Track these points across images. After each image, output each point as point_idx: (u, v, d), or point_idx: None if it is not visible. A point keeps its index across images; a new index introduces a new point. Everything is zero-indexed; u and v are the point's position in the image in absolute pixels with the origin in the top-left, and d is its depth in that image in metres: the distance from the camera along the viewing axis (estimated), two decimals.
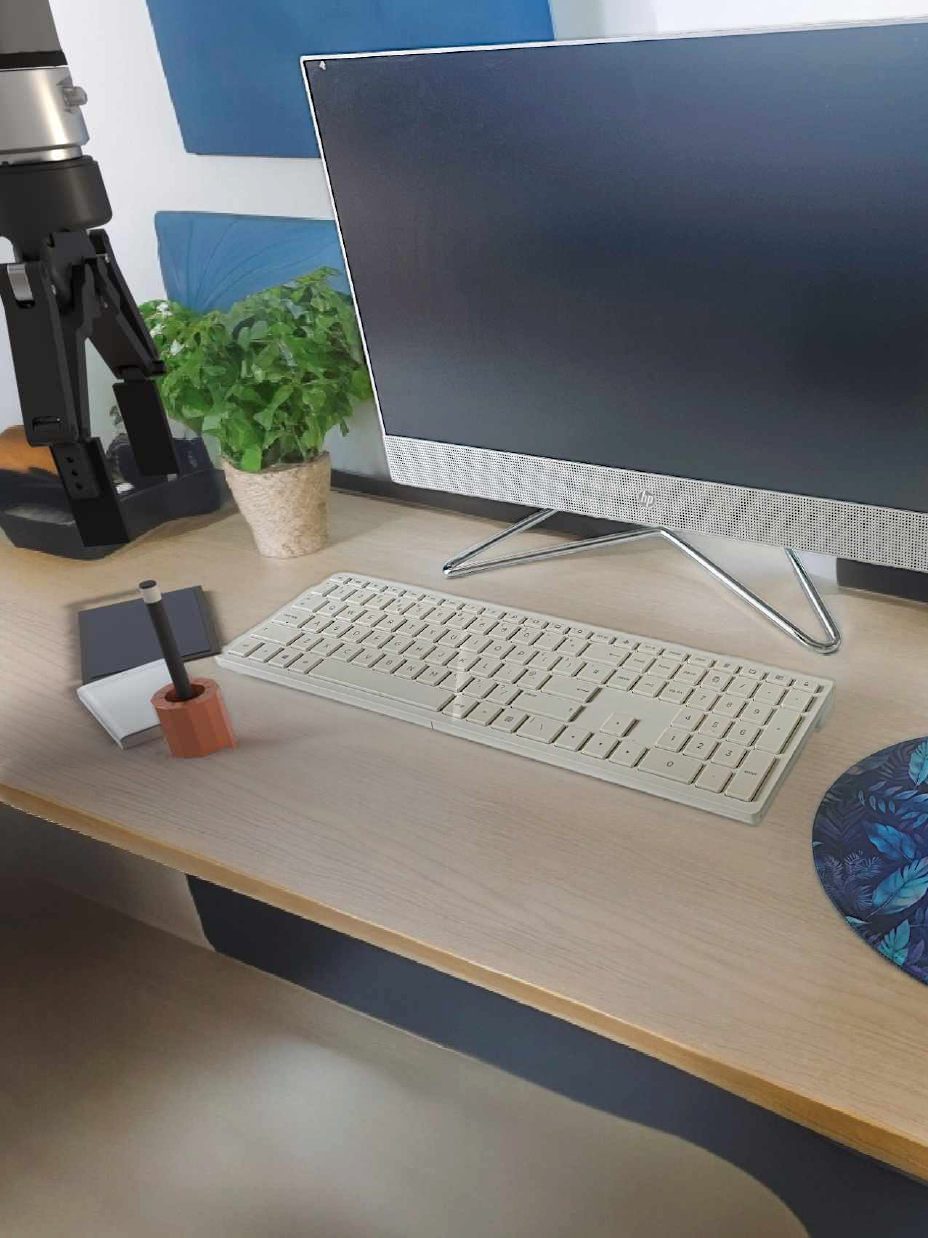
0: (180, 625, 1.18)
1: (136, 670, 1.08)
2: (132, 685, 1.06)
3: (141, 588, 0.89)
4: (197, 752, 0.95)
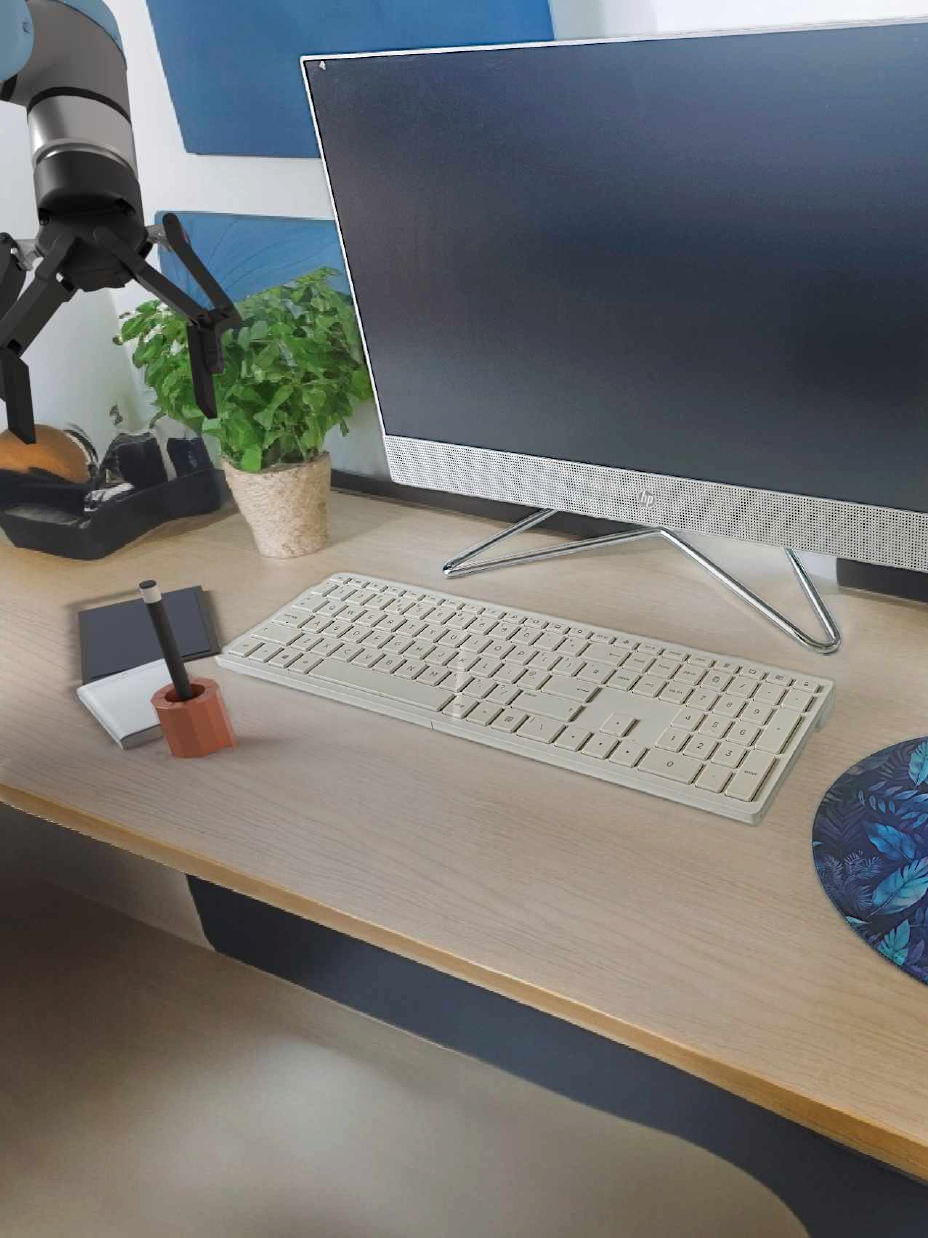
0: (180, 625, 1.18)
1: (136, 670, 1.08)
2: (132, 685, 1.06)
3: (141, 588, 0.89)
4: (197, 752, 0.95)
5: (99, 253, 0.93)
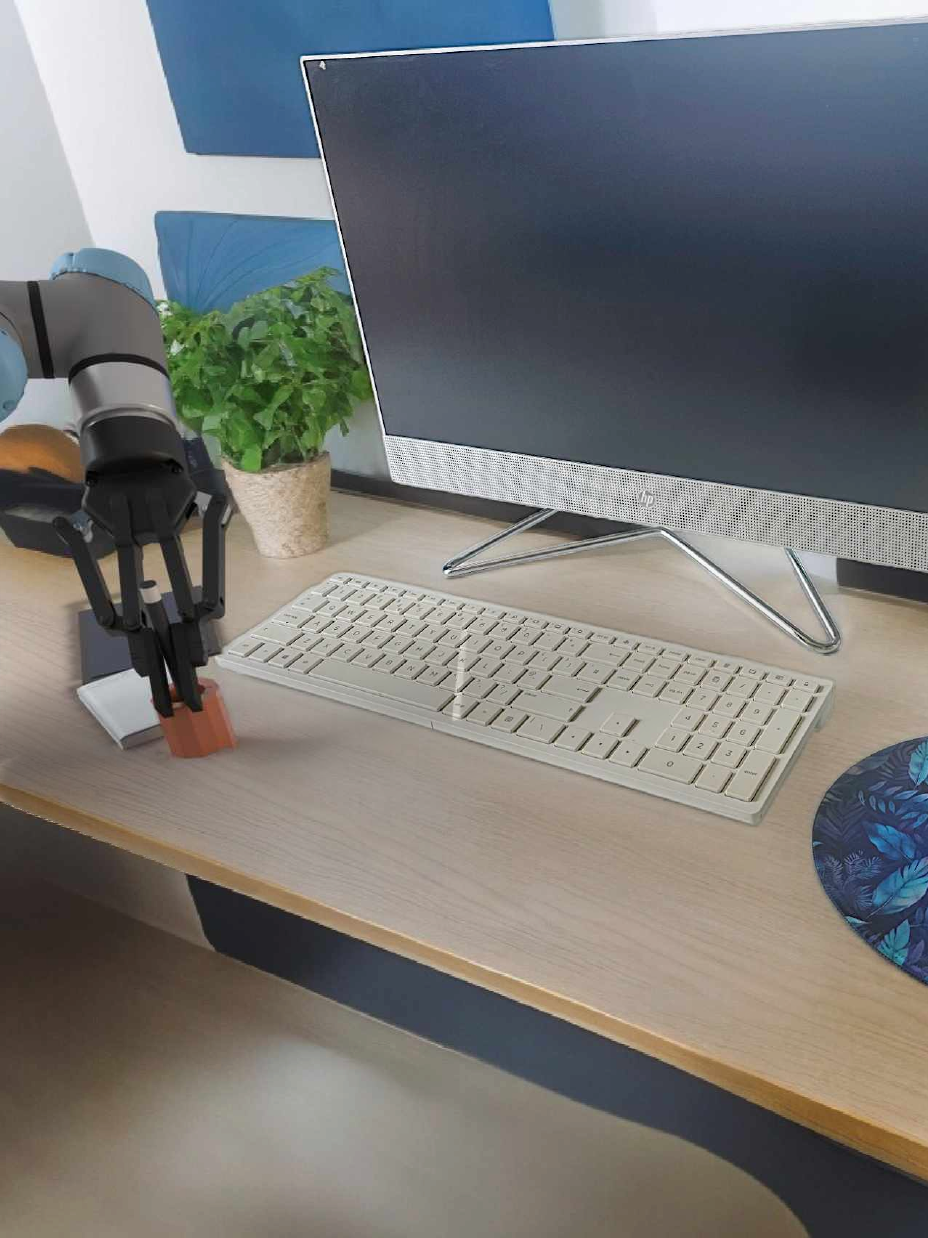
0: None
1: None
2: (132, 685, 1.06)
3: (141, 588, 0.89)
4: (197, 752, 0.95)
5: (150, 512, 0.94)
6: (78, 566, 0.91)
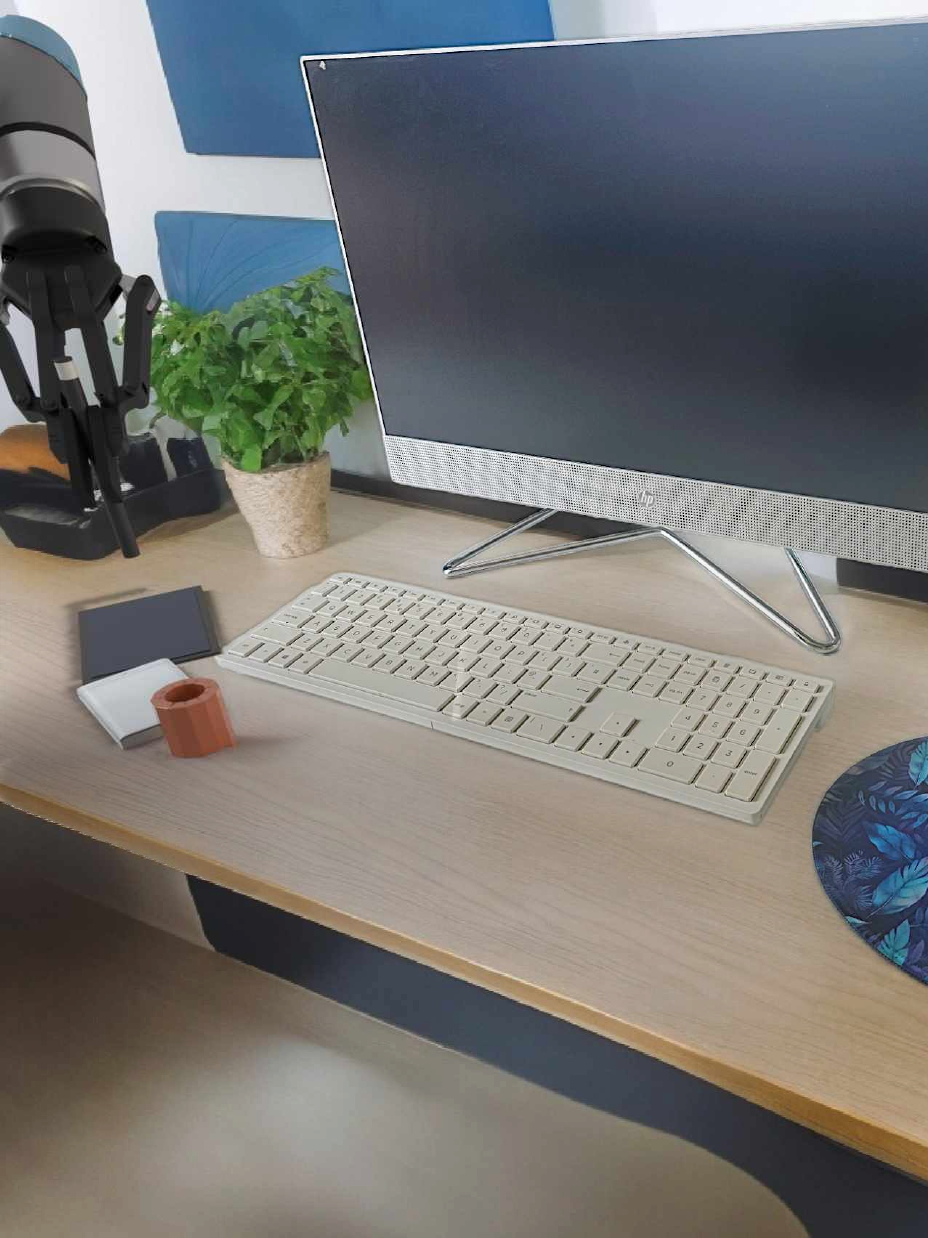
0: (180, 625, 1.18)
1: (136, 670, 1.08)
2: (132, 685, 1.06)
3: (55, 362, 0.84)
4: (197, 752, 0.95)
5: (70, 292, 0.88)
6: None
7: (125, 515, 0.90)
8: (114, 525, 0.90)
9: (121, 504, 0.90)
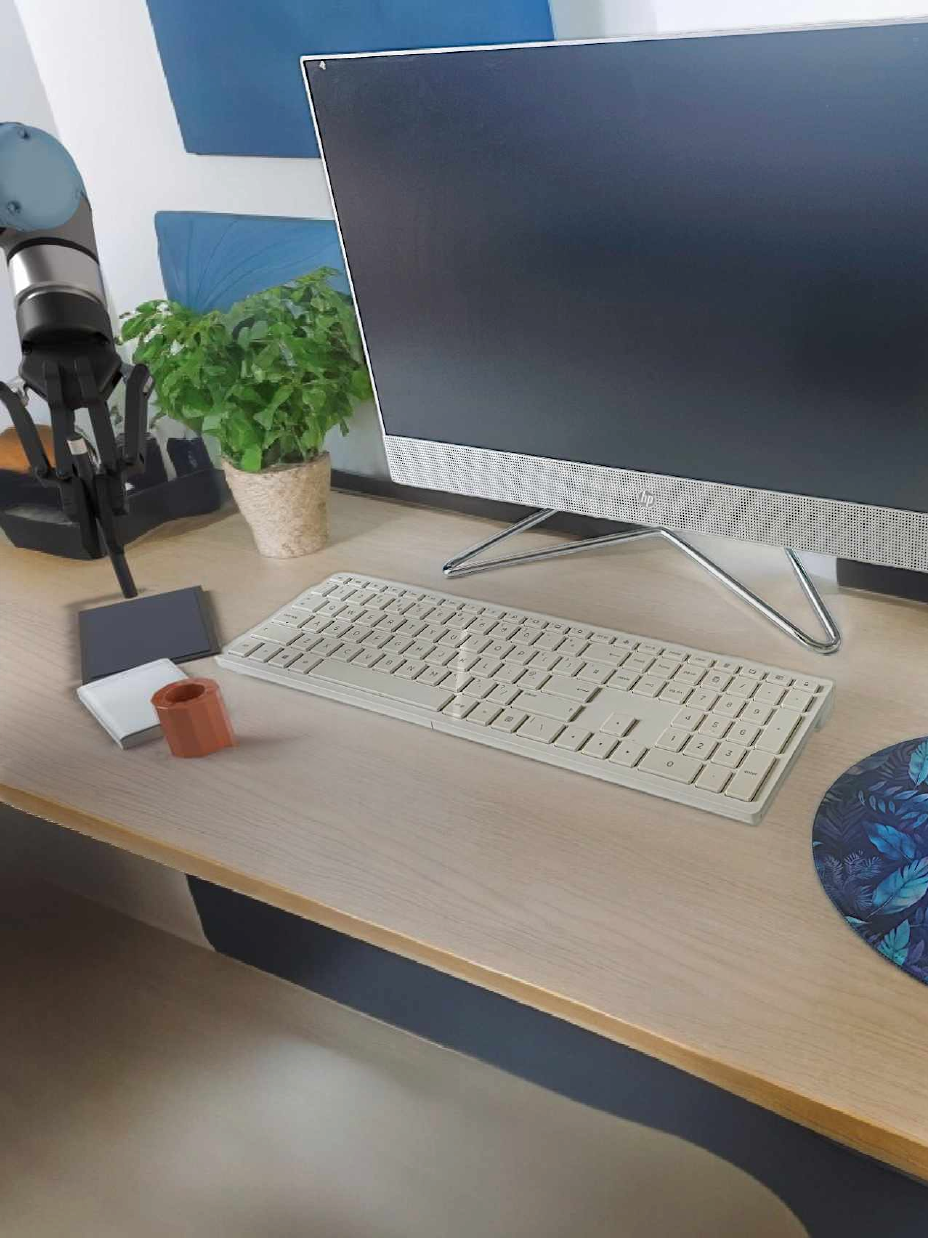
0: (180, 625, 1.18)
1: (136, 670, 1.08)
2: (132, 685, 1.06)
3: (68, 440, 1.01)
4: (197, 752, 0.95)
5: (79, 378, 1.06)
6: (15, 423, 1.03)
7: (125, 563, 1.08)
8: (116, 571, 1.08)
9: (122, 554, 1.08)
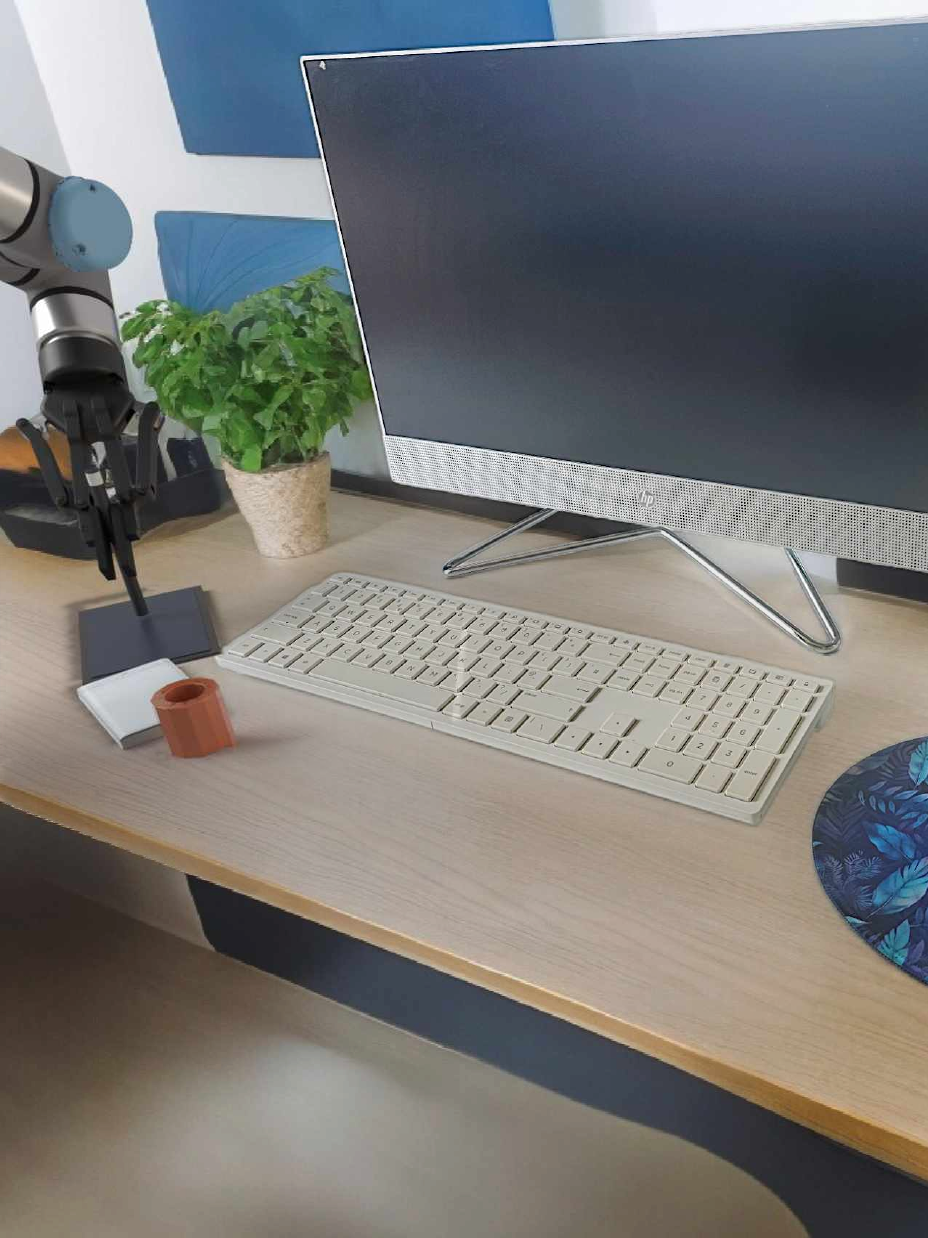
0: (180, 625, 1.18)
1: (136, 670, 1.08)
2: (132, 685, 1.06)
3: (86, 473, 1.11)
4: (197, 752, 0.95)
5: (96, 415, 1.16)
6: (37, 457, 1.13)
7: (137, 584, 1.18)
8: (129, 591, 1.18)
9: None
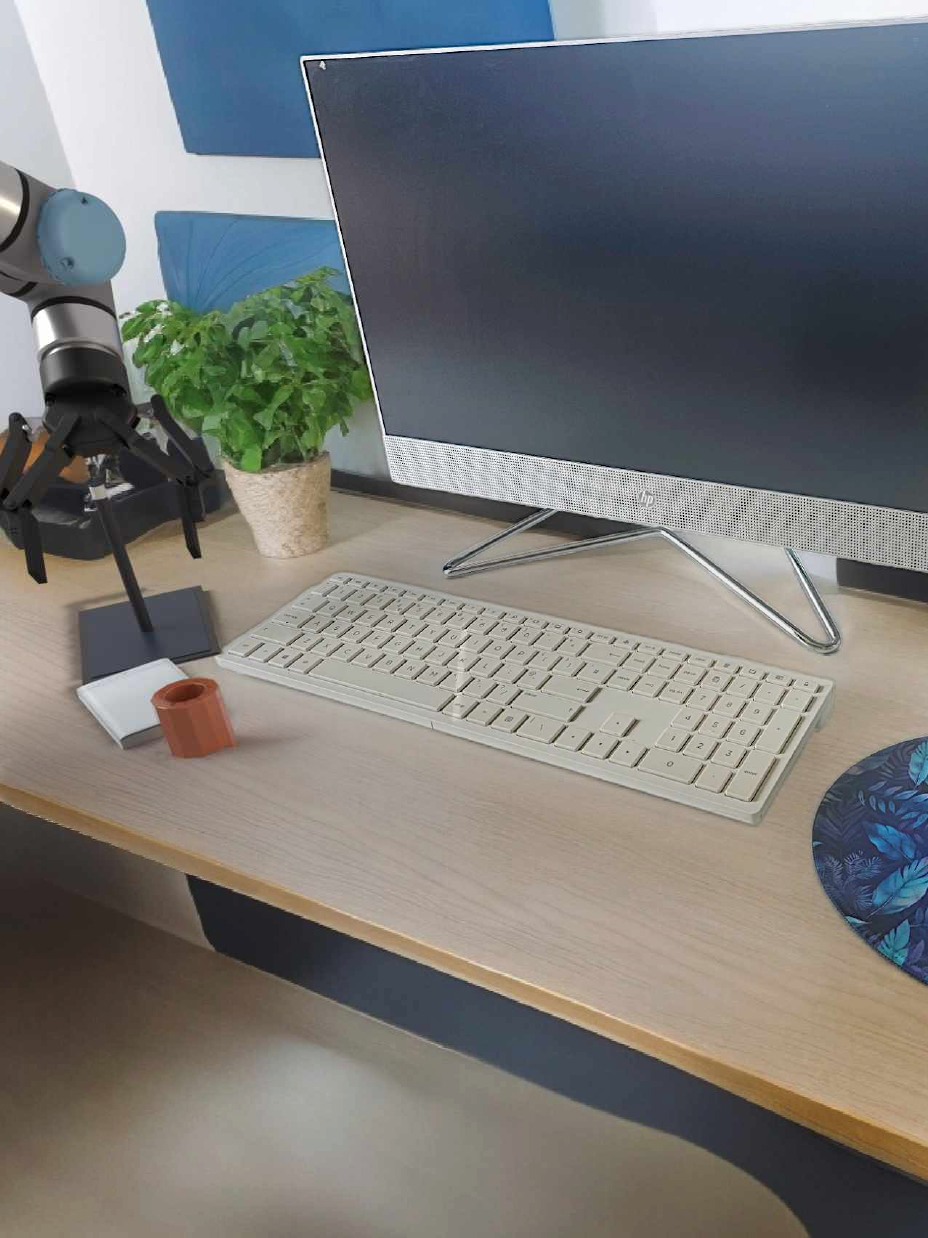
0: (180, 625, 1.18)
1: (136, 670, 1.08)
2: (132, 685, 1.06)
3: (90, 487, 1.09)
4: (197, 752, 0.95)
5: (98, 427, 1.13)
6: (2, 454, 1.11)
7: (141, 598, 1.16)
8: (132, 606, 1.16)
9: (138, 590, 1.15)
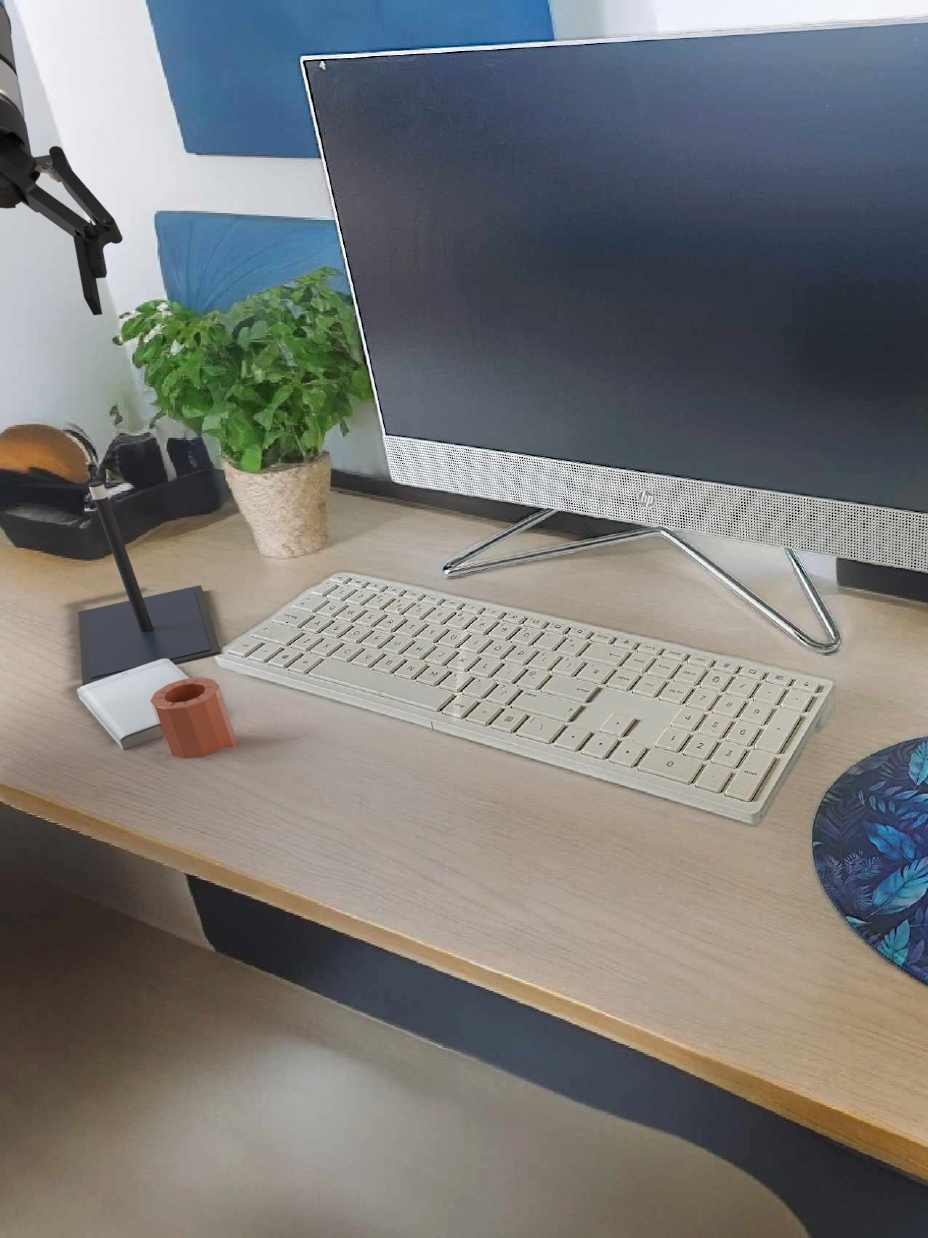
0: (180, 625, 1.18)
1: (136, 670, 1.08)
2: (132, 685, 1.06)
3: (90, 487, 1.09)
4: (197, 752, 0.95)
5: None
6: None
7: (141, 598, 1.16)
8: (132, 606, 1.16)
9: (138, 590, 1.15)
